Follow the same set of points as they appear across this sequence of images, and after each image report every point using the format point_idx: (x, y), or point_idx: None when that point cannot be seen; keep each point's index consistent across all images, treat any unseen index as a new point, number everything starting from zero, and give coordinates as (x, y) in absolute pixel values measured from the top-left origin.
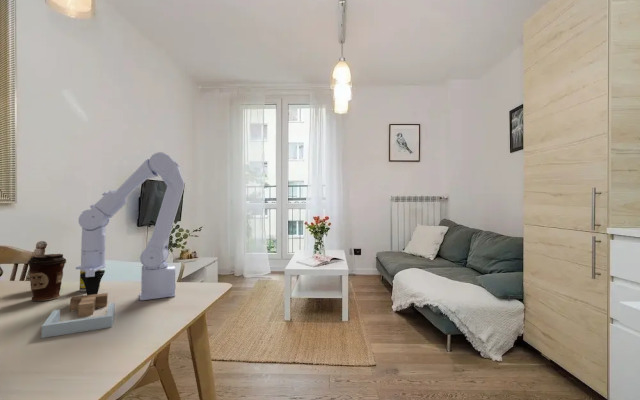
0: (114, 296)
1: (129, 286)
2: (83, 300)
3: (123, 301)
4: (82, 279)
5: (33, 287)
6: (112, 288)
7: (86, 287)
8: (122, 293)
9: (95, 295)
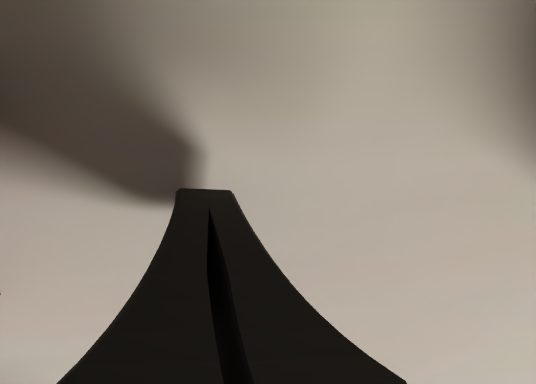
0: None
1: (478, 376)
2: None
3: (10, 372)
4: (70, 374)
5: None
6: (524, 300)
7: (148, 275)
8: None
9: None
